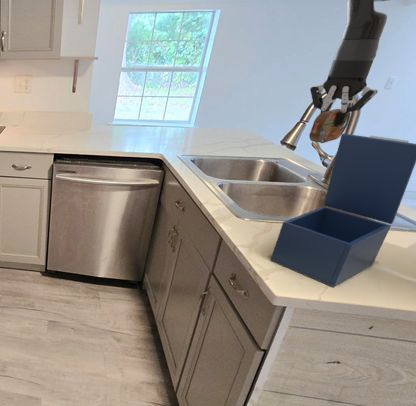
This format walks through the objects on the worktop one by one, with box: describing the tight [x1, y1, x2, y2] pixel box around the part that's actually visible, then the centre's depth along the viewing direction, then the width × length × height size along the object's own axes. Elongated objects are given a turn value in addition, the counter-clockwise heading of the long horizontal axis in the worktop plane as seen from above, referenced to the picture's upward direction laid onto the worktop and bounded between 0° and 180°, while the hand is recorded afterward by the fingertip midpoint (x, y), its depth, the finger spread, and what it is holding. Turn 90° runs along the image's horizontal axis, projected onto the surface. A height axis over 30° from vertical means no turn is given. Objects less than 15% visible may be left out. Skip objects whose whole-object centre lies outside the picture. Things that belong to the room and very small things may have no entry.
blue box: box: [269, 205, 392, 288], centre depth 87 cm, size 19×13×11 cm
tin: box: [308, 108, 351, 144], centre depth 101 cm, size 15×3×8 cm, turn 117°
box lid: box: [323, 133, 416, 225], centre depth 84 cm, size 20×13×6 cm
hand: (330, 125), depth 101 cm, fingers closed on tin, 2 cm apart
